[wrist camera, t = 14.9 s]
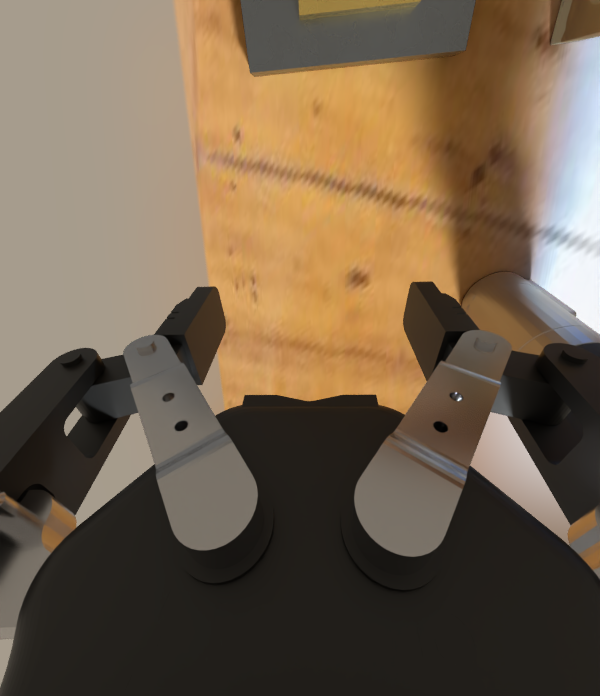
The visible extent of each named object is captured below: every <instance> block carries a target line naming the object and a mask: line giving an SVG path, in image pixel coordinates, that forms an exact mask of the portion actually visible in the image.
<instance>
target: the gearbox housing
mask: <svg viewBox="0 0 600 696" xmlns="http://www.w3.org/2000/svg"><path fill="white" fill-rule="evenodd" d="M475 1H476V0H241V8H242V16H243V23H244V31H245V38H246V46H247V54H248V61H249V69H250V73H251V74H252V75H253V76H254V77H256V76H266V75H276V74H285V73H295V72H304V71H314V70H323V69H333V68H343V67H352V66H362V65H371V64H381V63H391V62H400V61H410V60H419V59H429V58H439V57H448V56H454V55H456V54H458V53H461V52H463V51H465V50H466V46H467V41H468V36H469V31H470V26H471V21H472V16H473V11H474V6H475Z"/></svg>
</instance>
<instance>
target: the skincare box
mask: <svg viewBox="0 0 600 696" xmlns="http://www.w3.org/2000/svg"><path fill="white" fill-rule="evenodd" d="M599 36H600V0H562V2H561V6H560V9H559V13H558V17H557V20H556V24H555V28H554V32H553V36H552V39H551V43H550V44H551V45H556V44H563V43H569V42H575V41H580V40H585V39H590V38H595V37H599Z"/></svg>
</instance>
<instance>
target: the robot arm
mask: <svg viewBox="0 0 600 696" xmlns="http://www.w3.org/2000/svg"><path fill="white" fill-rule="evenodd" d="M403 325H404V330H405V333H406V335H407V337H408V340H409V342H410V344H411V346H412V349H413V351H414V353H415V355H416V358H417V360H418V362H419V365H420V367H421V369H422V371H423V374H424V376H425V378H426V381H427V383H426V384H425V386H424V387H423V389H422V390H421V392H420V393H419V395H418V396H417V398H416V399H415V401H414V402H413V404H412V405H411V407H410V409H409V410H408V412H407V413H406V415H404V414H402V413H400V412H398V411H396V410H394V409H391V408H388V407H385V406H381V405H378V402H377V397H376V395H340V396H335V397H330V398H326V399H321V400H316V401H303V400H298V399H293V398H288V397H284V396H279V395H245V397H244V401H243V404H242V405H240V406H236V407H233V408H230V409H228V410H225V411H223V412H221V413H220V414H217V415H216V416H215V415H214V413H213V412H212V410H211V408H210V407H209V405H208V403H207V402H206V400H205V398H204V396H203V395H202V393H201V391H200V390H199V388H198V386H197V385H202V384H203V382H204V380H205V377H206V375H207V373H208V370H209V368H210V366H211V363H212V361H213V359H214V356H215V354H216V352H217V349H218V347H219V345H220V342H221V340H222V338H223V335H224V333H225V328H226V322H225V316H224V312H223V308H222V304H221V300H220V296H219V292H218V289H217V288H216V287H197V288H196V289H195V291H194V292H193V293H192V295H191V296H190V298H189V299H185V300H183V301H182V302H180V303H179V304H177V305H176V306H175V308H174V309H173V310H172V312H171V314H169V315H168V317H167V319H165V321H164V322H163V323H162V325H161V326H160V327H159V329H158V330H157V331H156V333H155V334H154V335H149V336H145V337H141V338H139V339H137V340H135V341H133V342H131V343H130V344H129V345H128V346H127V347H126V348H125V349H124V353H123V355H119V356H115V357H110V358H105V359H101V358H100V356H99V355H98V353H97V352H96V351H95V350H94V349H91V348H81V349H76V350H73V351H70V352H67V353H65V354H63V355H61V356H59V357H58V358H56V359H55V360H53V361H52V362H51V363H50V364H49V365H48V366H47V367H46V368H45V369H44V370H43V371H42V372H41V373H40V374H39V375H38V376H37V377H36V378H35V379H34V380H33V381H32V382H31V383H30V384H29V385H28V386H27V387H26V388H25V389H24V390H23V391H22V392H21V393H20V394H19V395H18V396H17V397H16V398H15V399H14V400H13V401H12V402H11V403H10V404H9V405H8V406H6V408H4V409H3V411H1V412H0V639H14V640H13V646H12V650H11V654H10V658H9V661H8V666H7V669H6V672H5V675H4V678H3V682H2V684H1V687H0V696H600V334H598V333H597V332H596V331H594V330H593V329H591V328H590V327H589V326H587V325H586V324H585V323H583V322H582V321H580V320H579V319H578V318H576V312H575V311H574V310H573V309H571V308H570V307H568V306H567V305H566V304H564V303H563V302H561V301H560V300H559V299H557V298H556V297H555V296H553V295H552V294H550V293H549V292H548V291H546V290H545V289H543V288H542V287H541V286H539V285H538V284H536V283H535V282H534V281H532V280H525V279H524V278H522V277H521V276H520V275H518V274H516V273H513V272H498V273H494V274H491V275H488V276H486V277H484V278H483V279H481V280H479V281H478V282H477V283H475V284H474V285H473V286H472V287H471V288H470V289H469V290H468V292H467V293H466V295H465V297H464V299H463V301H462V308H461V306H460V304H459V303H458V302H457V301H456V299H454V298H452V297H451V296H449V295H447V294H445V293H441V292H440V291H439V289H438V288H437V287H436V286H435V284H434V283H433V282H412V283H411V285H410V288H409V293H408V298H407V303H406V307H405V312H404V318H403ZM75 407H77V409H78V410H79V411H80V413H81V414H82V417H81V418H80V419H79V420H78V422H77V423H76V425H75V426H74V427H73V429H72V430H71V431H70V433H69V434H68V436H66V435H65V432H64V424H65V421H66V419H67V417H68V416H69V415H70V413H71V412H72V411H73V410H74V408H75ZM490 412H494V413H498V414H502V415H506V416H508V418H509V420H510V422H511V424H512V425H513V427H514V429H515V431H516V432H517V434H518V436H519V437H520V439H521V441H522V442H523V444H524V446H525V448H526V449H527V451H528V453H529V455H530V456H531V458H532V460H533V461H534V463H535V465H536V467H537V468H538V470H539V472H540V473H541V475H542V477H543V479H544V480H545V482H546V484H547V485H548V487H549V489H550V491H551V492H552V494H553V496H554V498H555V499H556V501H557V503H558V504H559V506H560V508H561V509H562V511H563V513H564V515H565V516H566V518H567V520H568V522H569V523H570V525H571V526H570V528H569V530H568V541H569V545H570V546H569V545H567V544H566V543H565V542H564V541H563V540H562V539H561V538H559V537H558V536H557V535H556V534H554V533H553V532H552V531H551V530H549V529H548V528H547V527H546V526H544V525H543V524H542V523H541V522H539V521H538V520H537V519H536V518H535V517H533V516H532V515H531V514H530V513H528V512H527V511H526V510H525V509H523V508H522V507H521V506H520V505H518V504H517V503H516V502H515V501H513V500H512V499H511V498H510V497H508V496H507V495H506V494H505V493H504V492H502V491H501V490H500V489H499V488H497V487H496V486H495V485H494V484H492V483H491V482H490V481H489V480H487V479H486V478H485V477H484V476H482V475H481V474H480V473H479V472H477V471H476V470H475V469H474V468H472V467H471V466H470V464H471V461H472V458H473V456H474V453H475V451H476V448H477V445H478V443H479V440H480V438H481V435H482V432H483V430H484V427H485V424H486V422H487V419H488V416H489V414H490ZM134 413H139V416H140V419H141V422H142V425H143V428H144V432H145V435H146V438H147V441H148V444H149V447H150V451H151V454H152V457H153V460H154V463H155V464H154V465H153V466H152V467H151V468H149V469H148V470H147V471H146V472H144V473H143V474H142V475H141V476H139V477H138V478H137V479H136V480H134V481H133V482H132V483H131V484H129V485H128V486H127V487H126V488H125V489H123V490H122V491H121V492H120V493H118V494H117V495H116V496H115V497H113V498H112V499H111V500H110V501H109V502H107V503H106V504H105V505H104V506H102V507H101V508H100V509H99V510H97V511H96V512H95V513H94V514H93V515H92V516H90V517H89V518H88V519H86V520H85V521H84V522H83V523H81V524H80V525H79V526H78V527H77V528H76V517H75V515H76V513H77V511H78V509H79V507H80V506H81V504H82V502H83V500H84V498H85V497H86V495H87V493H88V491H89V489H90V488H91V486H92V484H93V482H94V480H95V479H96V477H97V475H98V473H99V471H100V470H101V468H102V466H103V464H104V462H105V461H106V459H107V457H108V455H109V453H110V452H111V450H112V448H113V446H114V444H115V442H116V441H117V439H118V437H119V435H120V434H121V431H122V430H123V428H124V426H125V425H126V423H127V421H128V419H129V417H130V415H131V414H134Z"/></svg>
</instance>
